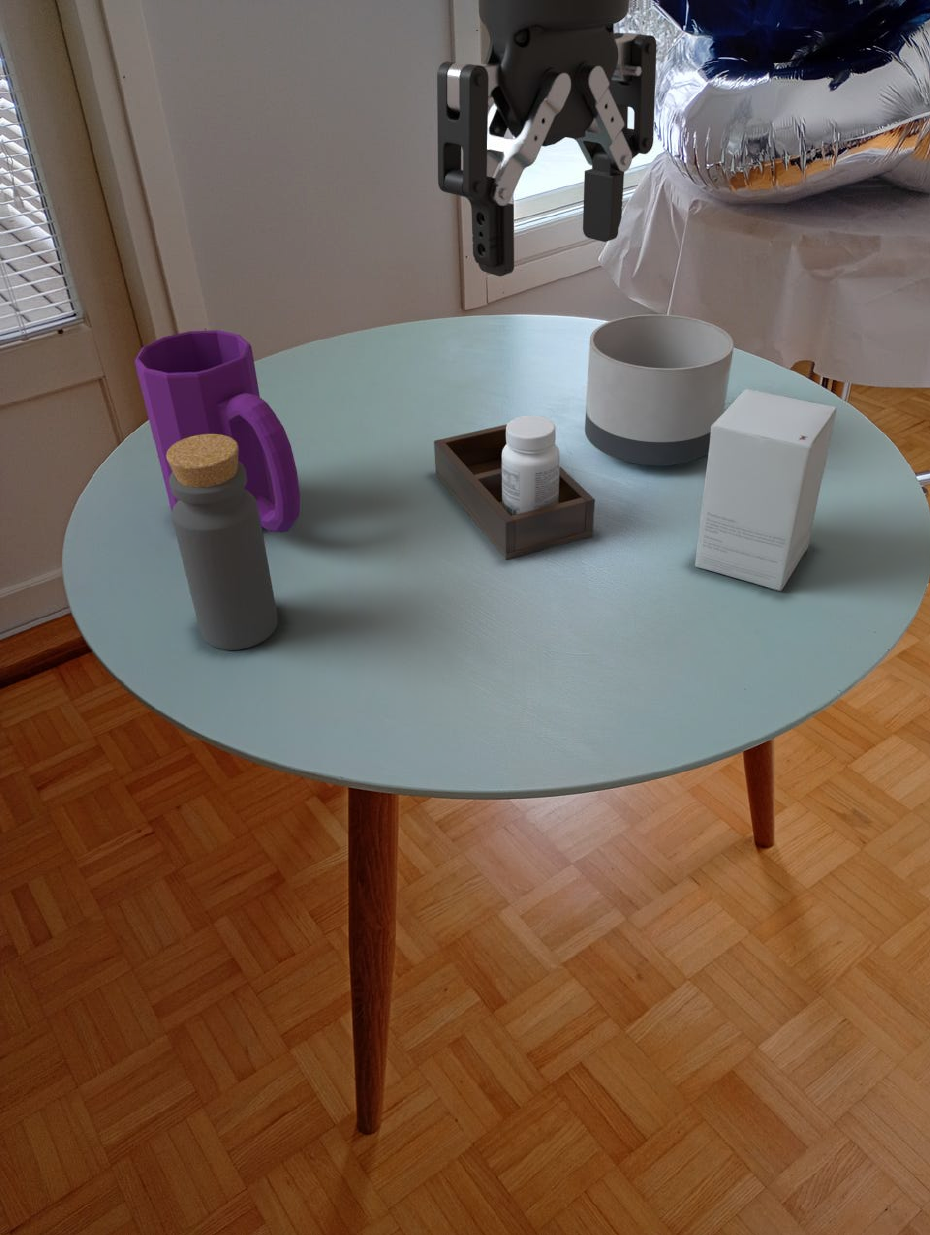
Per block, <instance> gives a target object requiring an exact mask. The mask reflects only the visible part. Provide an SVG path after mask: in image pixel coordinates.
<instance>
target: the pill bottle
mask: <svg viewBox="0 0 930 1235" xmlns="http://www.w3.org/2000/svg"><path fill="white" fill-rule="evenodd" d="M506 425H507V426H506V443H507V444H506V445H505V447H504V448H503V451H502V507H503V508H504V509H505V510H506V511H507V512H508V513H509V515H510V516H512V515H516V514H520V513H524V512H527V511H531V510H535V509H539V508H543V507H547V506H551V505H555V504H558V499H559V466H560V459H561V458H560V457H561V456H560V449H559V447H558V446H557V444H556V440H557V434H556V431H557V430H556V424H555V423H554V421H553V420H551V419H548V418H547V417H543V416H540V415H522V416H518V417H515V418H513V419H511V420H510V421H509V422H507V423H506Z"/></svg>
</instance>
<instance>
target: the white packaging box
mask: <svg viewBox="0 0 930 1235" xmlns="http://www.w3.org/2000/svg"><path fill="white" fill-rule="evenodd" d="M837 409H838V408H837V407H836V406H833V405H828V404H823V403H822V404H821V403H816V402H812V401H806V400H801V399H796V398H793V397H787V396H782V395H777V394H773V393H767V392H763V391H758V390H753V389H748V388H744V390H743V391H742V392H741V393H740V394H739V395H738V396H737V398H735V400H734V401H733V402H732V403H731V405H730V406H729V407H728V408H727V409H725V410H724V413H723V414H722V415H721V416H720V417H719V418H718V419H717V420H716V421H715V423H714V424H713V425H712V426H711V436H710V447H709V453H708V454H707V456H708V457H707V464H706V470H705V471H706V472H705V479H704V487H703V494H702V503H701V511H700V518H699V526H698V533H697V534H698V536H697V545H696V552H695V562H694V566H695V567H696V568H699V569H703V570H706V571H711V572H714V573H717V574H720V575H724V576H727V577H730V578H734V579H738V580H740V581H741V580H742V581H746V582H747V583H751V584H755V585H758V586H762V587H765V588H768V589H772V590H775V591H778V592H781V591H783V589H784V587H785V586H786V584H787V583H788V580H789V579H790V577H791V576H792V575H793V573H794V571H795V569H796V568H797V567H798V565H799V563H800V561H801V560H802V558H803V556H804V555H805V553H806V551H807V549H809V544H810V539H811V534H812V529H813V525H814V519H815V514H816V511H817V505H818V501H819V496H820V491H821V486H822V481H823V477H824V473H825V468H826V463H827V458H828V453H829V448H830V443H831V438H832V433H833V429H834V425H835V424H834V423H835V419H836V414H837Z"/></svg>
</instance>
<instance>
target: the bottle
mask: <svg viewBox="0 0 930 1235" xmlns="http://www.w3.org/2000/svg"><path fill="white" fill-rule="evenodd" d="M166 457H167V460H168V462H169V464H170V466H171V469H172V471H173V472H172V473H171V475H170V477H169V484H170V488H171V491H172V494H173V495H174V497H176V498H177V499H178V500H179V501H178V502H177V503H176V505H175V506H174V508H173V511H171V517H172V524H173V528H174V531H175V535H176V539H177V544H178V548H179V552H180V553H179V554H180V556H181V560H182V564H183V568H184V572H185V576H186V577H185V578H186V580H187V585H188V590H189V593H190V598H191V601H192V605H193V610H194V614H195V617H196V622H197V626H198V627H199V633H200V635H201V637H202V639H203V640H204V641H205V642H206V643H207V644H208V645H209V646H211V647H213V648H216V649H220V650H223V651H224V650H225V651H235V650H236V651H237V650H244V649H249V648H251V647H254V646H257V645H259V644H261V643H263V642H265V641H266V640H267V639H268V638H270V637H271V636H272V635H273V633H274V632H275V631H276V629H277V626H278V624H279V623H278V622H279V621H278V620H279V618H278V612H277V604H276V599H275V594H274V588H273V582H272V577H271V570H270V566H269V559H268V555H267V554H268V553H267V549H266V542H265V537H264V532H263V527H262V526H261V521H260V516H259V511H258V506H257V502H256V499H255V498H254V496H253V495H252V494H251V493H250V492H248V491H247V490H245V489H244V487H245V486H246V484H247V475H246V470H245V467H244V465H243V464H242V463H241V462H239V461H238V444H237V442H236V441H235V440H234V439H232V438H231V437H228V436H225V435H220V434H202V435H196V436H191V437H188V438H185V439H182V440H180V441H178V442H177V443H175V444H173V445H172V446H171V447H170V448H169V449H168V451H167V454H166Z"/></svg>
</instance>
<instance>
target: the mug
mask: <svg viewBox="0 0 930 1235" xmlns="http://www.w3.org/2000/svg"><path fill="white" fill-rule="evenodd" d="M254 359H255V358H254V354H253V348H252V344H250V343H249V342H248V341H247V340H246V339H245V338H244V337H243V336H242V335H241V334H237V333H234V332H228V331H224V330H218V329H213V330H211V329H210V330H188V331H185V332H181V333H176V334H171V335H167V336H163V337H160V338H159V339H157V340H155V341H153V342H151V343H149V344H147V345H144V346H143V347H142V348H141V349H140V351H139V353H138V354H137V356H136V358H135V360H134V365H135V367H136V373H137V377H138V380H139V385H140V389H141V393H142V397H143V401H144V404H145V408H146V409H145V410H146V414H147V418H148V421H149V426H150V430H151V433H152V437H153V438H152V439H153V442H154V445H155V450H156V453H157V454H156V455H157V458H158V463H159V466H160V470H161V474H162V479H163V482H164V486H165V490H166V495H167V498H168V502H169V507H170V510H171V512H172V511H173V508H174V506H175V505H176V503H177V502H178V501H179V500H178V499H177V498H176V497H174V495H173V494H172V491H171V488H170V484H169V477H170V475H171V473H172V472H173V471H172V469H171V466H170V464H169V462H168V460H167V457H166V454H167V451H168V449H169V448H170V447H171V446H172V445H173V444H175V443H177V442H178V441H180V440H182V439H185V438H188V437H191V436H196V435H202V434H220V435H225V436H228V437H231V438H232V439H234V440H235V441H236V442H237V444H238V461H239V462H241V463H242V464H243V465H244V467H245V470H246V475H247V484H246V486H245V487H244V489H245V490H247V491H248V492H250V493H251V494H252V495H253V496H254V498H255V499H256V502H257V506H258V511H259V516H260V521H261V527H262V529H263V528H264V529H266V530H267V531H269V532H272V533H286V532H288V531H289V530H291V528H293V526H294V525H295V523H296V522H297V520H298V518H300V513H301V490H300V482H299V475H298V468H297V465H296V461H295V457H294V453H293V449H292V444H291V441H290V440H289V437H288V434H287V432H286V430H285V427H284V426H283V425H282V422H281V421H280V419H279V418H278V416H277V415H276V412H275V411H274V410H273V409H272V407H271V405H269V403H268V402H267V401H265V400H264V399H263V398H262V397H261V395H260V390H259V384H258V378H257V372H256V365H255V360H254Z"/></svg>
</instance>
